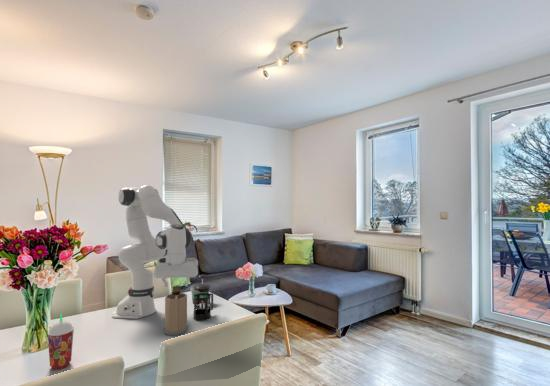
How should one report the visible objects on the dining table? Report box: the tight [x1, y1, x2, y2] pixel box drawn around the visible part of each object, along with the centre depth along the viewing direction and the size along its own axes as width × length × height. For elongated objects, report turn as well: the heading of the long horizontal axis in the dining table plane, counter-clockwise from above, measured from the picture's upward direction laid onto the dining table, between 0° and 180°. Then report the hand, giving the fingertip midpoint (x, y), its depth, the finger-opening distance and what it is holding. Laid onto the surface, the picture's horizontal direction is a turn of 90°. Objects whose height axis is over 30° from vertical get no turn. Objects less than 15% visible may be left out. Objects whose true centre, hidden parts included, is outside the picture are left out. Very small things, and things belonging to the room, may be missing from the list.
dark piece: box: [189, 285, 210, 305], centre depth 188 cm, size 12×6×10 cm, turn 88°
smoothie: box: [47, 313, 75, 370], centre depth 119 cm, size 8×8×20 cm
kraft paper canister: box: [163, 292, 189, 337], centre depth 151 cm, size 11×13×17 cm
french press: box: [192, 274, 214, 322], centre depth 167 cm, size 12×9×23 cm
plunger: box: [171, 284, 181, 299], centre depth 150 cm, size 7×7×16 cm
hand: (176, 286), depth 150 cm, fingers open, 8 cm apart
